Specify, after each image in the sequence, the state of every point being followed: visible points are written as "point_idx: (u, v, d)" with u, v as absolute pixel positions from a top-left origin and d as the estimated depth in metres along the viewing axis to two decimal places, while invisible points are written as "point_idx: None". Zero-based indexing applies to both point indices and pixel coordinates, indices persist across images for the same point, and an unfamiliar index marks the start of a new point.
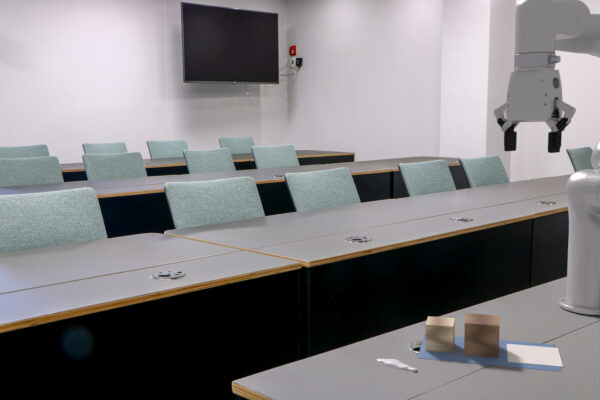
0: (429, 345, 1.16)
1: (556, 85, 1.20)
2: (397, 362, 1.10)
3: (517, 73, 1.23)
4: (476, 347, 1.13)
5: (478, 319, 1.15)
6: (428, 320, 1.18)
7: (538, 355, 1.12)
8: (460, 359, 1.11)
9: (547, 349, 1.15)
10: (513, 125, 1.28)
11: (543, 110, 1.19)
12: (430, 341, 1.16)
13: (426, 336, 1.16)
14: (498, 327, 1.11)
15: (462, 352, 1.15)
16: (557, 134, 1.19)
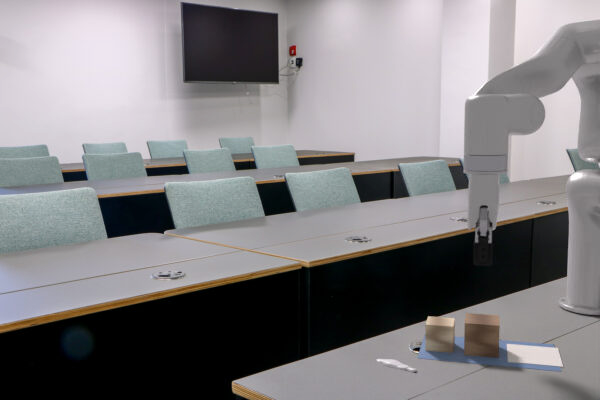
0: (429, 345, 1.16)
1: None
2: (397, 362, 1.09)
3: (499, 176, 1.09)
4: (476, 347, 1.13)
5: (478, 319, 1.15)
6: (428, 320, 1.18)
7: (538, 355, 1.12)
8: (460, 359, 1.11)
9: (547, 349, 1.15)
10: None
11: None
12: (430, 341, 1.16)
13: (426, 336, 1.16)
14: (498, 327, 1.11)
15: (462, 352, 1.15)
16: None
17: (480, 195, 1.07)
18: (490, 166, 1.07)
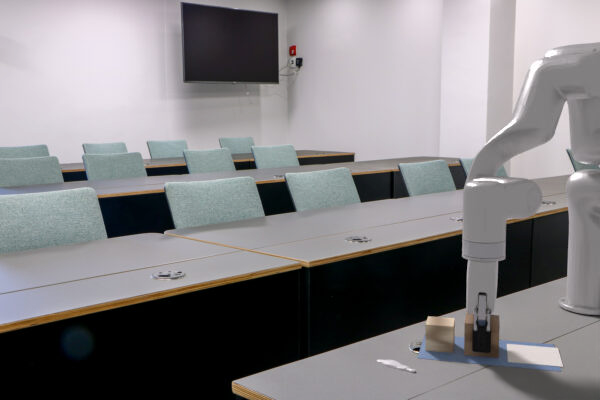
0: (429, 345, 1.16)
1: None
2: (396, 363, 1.09)
3: (497, 262, 1.11)
4: None
5: None
6: (428, 320, 1.18)
7: (538, 355, 1.12)
8: (460, 359, 1.11)
9: (547, 349, 1.15)
10: None
11: None
12: (430, 341, 1.16)
13: (426, 336, 1.16)
14: (498, 327, 1.11)
15: (462, 352, 1.15)
16: None
17: (478, 282, 1.09)
18: (488, 253, 1.09)
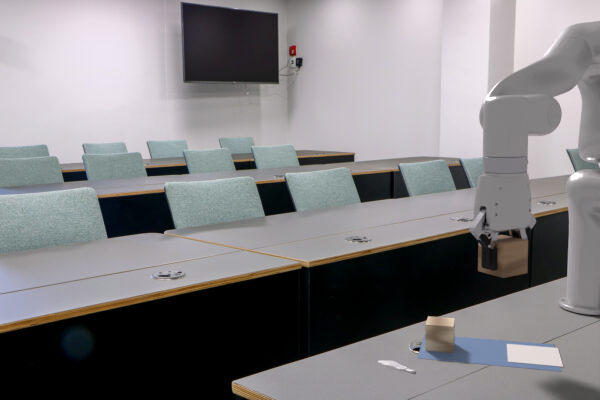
0: (429, 345, 1.16)
1: None
2: (395, 364, 1.09)
3: (506, 178, 1.07)
4: None
5: (499, 238, 1.12)
6: (428, 320, 1.18)
7: (538, 355, 1.12)
8: (460, 359, 1.11)
9: (547, 349, 1.15)
10: None
11: (527, 216, 1.11)
12: (430, 341, 1.16)
13: (426, 336, 1.16)
14: (503, 245, 1.08)
15: (462, 352, 1.15)
16: None
17: (480, 196, 1.09)
18: (493, 168, 1.08)
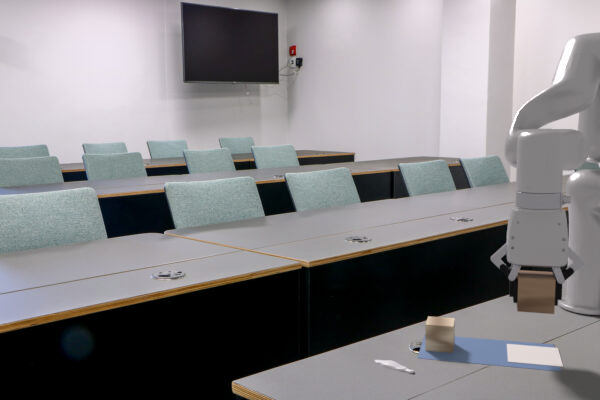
0: (429, 345, 1.16)
1: None
2: (395, 364, 1.09)
3: (526, 213, 1.08)
4: None
5: (534, 274, 1.11)
6: (428, 320, 1.18)
7: (538, 355, 1.12)
8: (460, 359, 1.11)
9: (547, 349, 1.15)
10: None
11: (560, 256, 1.07)
12: (430, 341, 1.16)
13: (426, 336, 1.16)
14: (518, 279, 1.09)
15: (462, 352, 1.15)
16: (561, 285, 1.09)
17: None
18: (516, 202, 1.09)
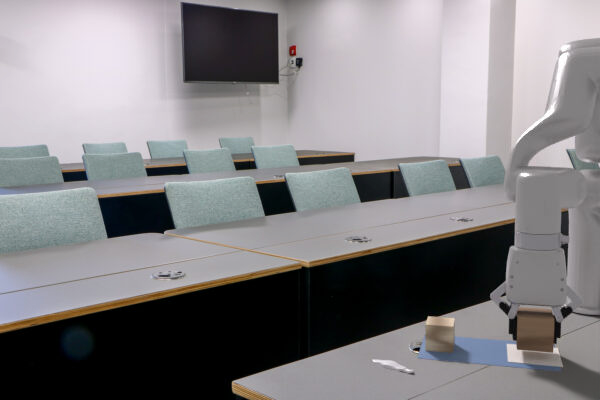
0: (429, 345, 1.16)
1: None
2: (394, 363, 1.09)
3: (525, 253, 1.09)
4: None
5: (533, 311, 1.13)
6: (428, 320, 1.18)
7: (538, 355, 1.12)
8: (460, 359, 1.11)
9: None
10: None
11: (559, 295, 1.08)
12: (430, 341, 1.16)
13: (426, 336, 1.16)
14: (517, 318, 1.10)
15: (462, 352, 1.15)
16: (560, 323, 1.10)
17: None
18: (515, 241, 1.10)
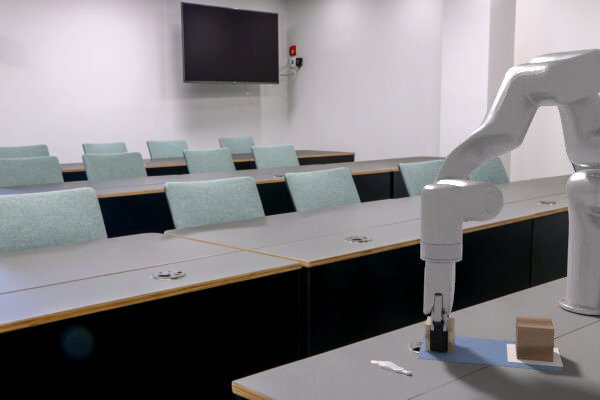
0: (429, 345, 1.16)
1: None
2: (392, 365, 1.08)
3: (453, 263, 1.13)
4: None
5: (533, 321, 1.13)
6: (428, 320, 1.18)
7: None
8: (460, 359, 1.11)
9: None
10: None
11: None
12: None
13: (426, 336, 1.16)
14: (517, 327, 1.10)
15: (462, 352, 1.15)
16: None
17: (435, 283, 1.11)
18: (444, 255, 1.12)
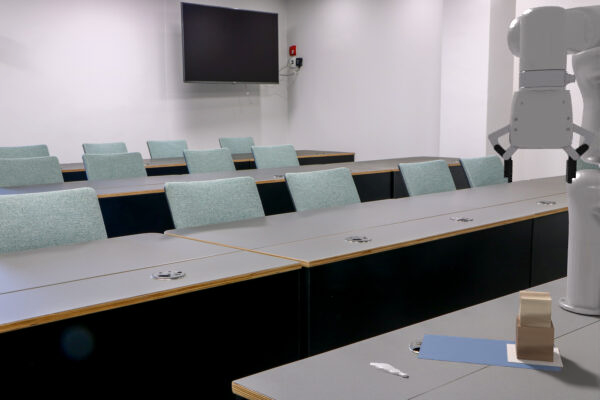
0: (519, 312, 1.14)
1: None
2: (389, 367, 1.08)
3: (529, 93, 1.05)
4: None
5: None
6: (534, 292, 1.13)
7: None
8: (460, 359, 1.11)
9: None
10: None
11: (565, 136, 1.05)
12: (519, 309, 1.14)
13: (519, 303, 1.15)
14: (517, 327, 1.10)
15: (462, 352, 1.15)
16: None
17: None
18: (519, 83, 1.07)
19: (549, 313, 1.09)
